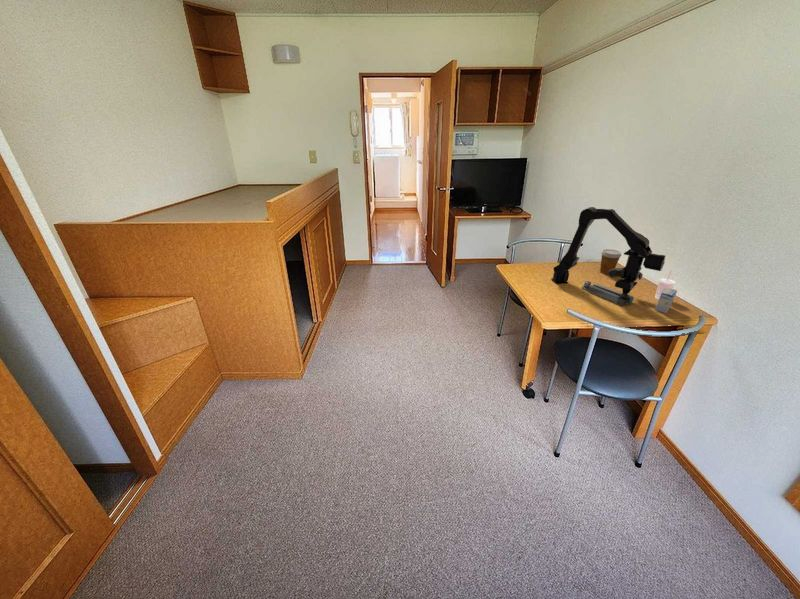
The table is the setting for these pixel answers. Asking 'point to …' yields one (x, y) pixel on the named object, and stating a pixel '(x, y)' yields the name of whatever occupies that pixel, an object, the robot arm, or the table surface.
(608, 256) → the disposable coffee cup
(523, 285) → the table surface
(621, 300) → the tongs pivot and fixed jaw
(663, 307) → the medicine box
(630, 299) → the bar
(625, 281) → the robot arm
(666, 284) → the beverage cup
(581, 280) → the table surface
